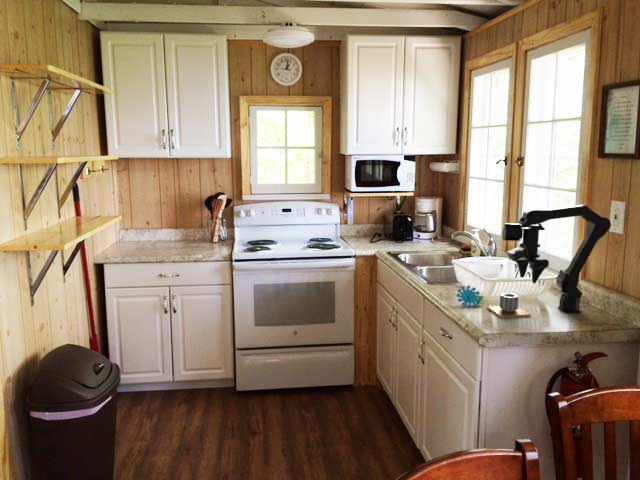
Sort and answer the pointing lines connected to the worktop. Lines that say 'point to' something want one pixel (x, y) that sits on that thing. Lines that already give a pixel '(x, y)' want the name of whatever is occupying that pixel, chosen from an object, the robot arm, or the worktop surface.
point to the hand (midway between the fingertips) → (527, 280)
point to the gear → (469, 296)
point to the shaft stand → (508, 312)
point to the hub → (509, 301)
